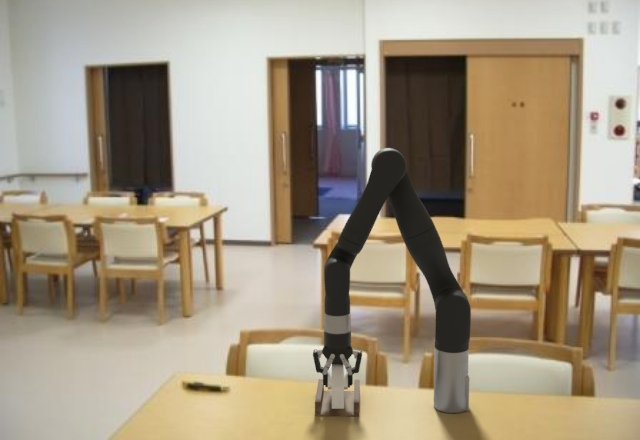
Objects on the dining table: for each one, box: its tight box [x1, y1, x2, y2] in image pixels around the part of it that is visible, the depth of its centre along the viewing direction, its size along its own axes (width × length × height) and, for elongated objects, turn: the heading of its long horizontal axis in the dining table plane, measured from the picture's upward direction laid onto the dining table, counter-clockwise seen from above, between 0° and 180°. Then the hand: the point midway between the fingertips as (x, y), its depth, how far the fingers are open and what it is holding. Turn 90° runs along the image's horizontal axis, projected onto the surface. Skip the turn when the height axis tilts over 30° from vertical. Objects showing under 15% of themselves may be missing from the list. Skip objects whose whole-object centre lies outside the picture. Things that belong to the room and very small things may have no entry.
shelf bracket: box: [327, 364, 349, 409], centre depth 203 cm, size 6×25×13 cm, turn 179°
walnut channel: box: [314, 378, 361, 417], centre depth 203 cm, size 12×16×4 cm
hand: (337, 386), depth 202 cm, fingers closed on shelf bracket, 5 cm apart
